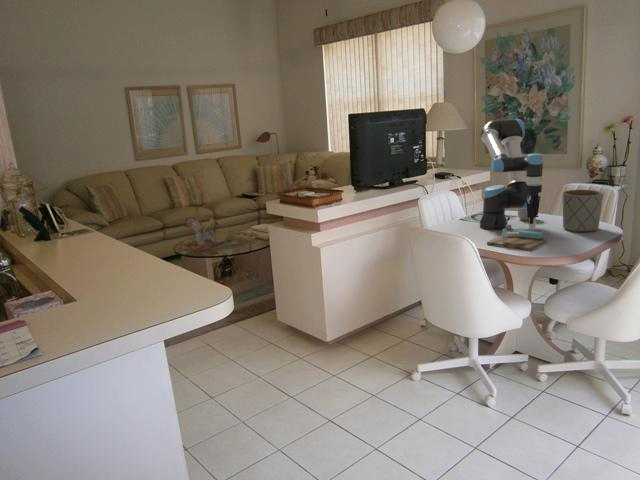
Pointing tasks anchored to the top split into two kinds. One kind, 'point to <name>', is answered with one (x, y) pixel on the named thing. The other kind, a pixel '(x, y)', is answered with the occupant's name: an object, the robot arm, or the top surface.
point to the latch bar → (526, 233)
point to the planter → (582, 210)
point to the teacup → (523, 214)
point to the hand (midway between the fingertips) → (532, 229)
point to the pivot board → (516, 241)
